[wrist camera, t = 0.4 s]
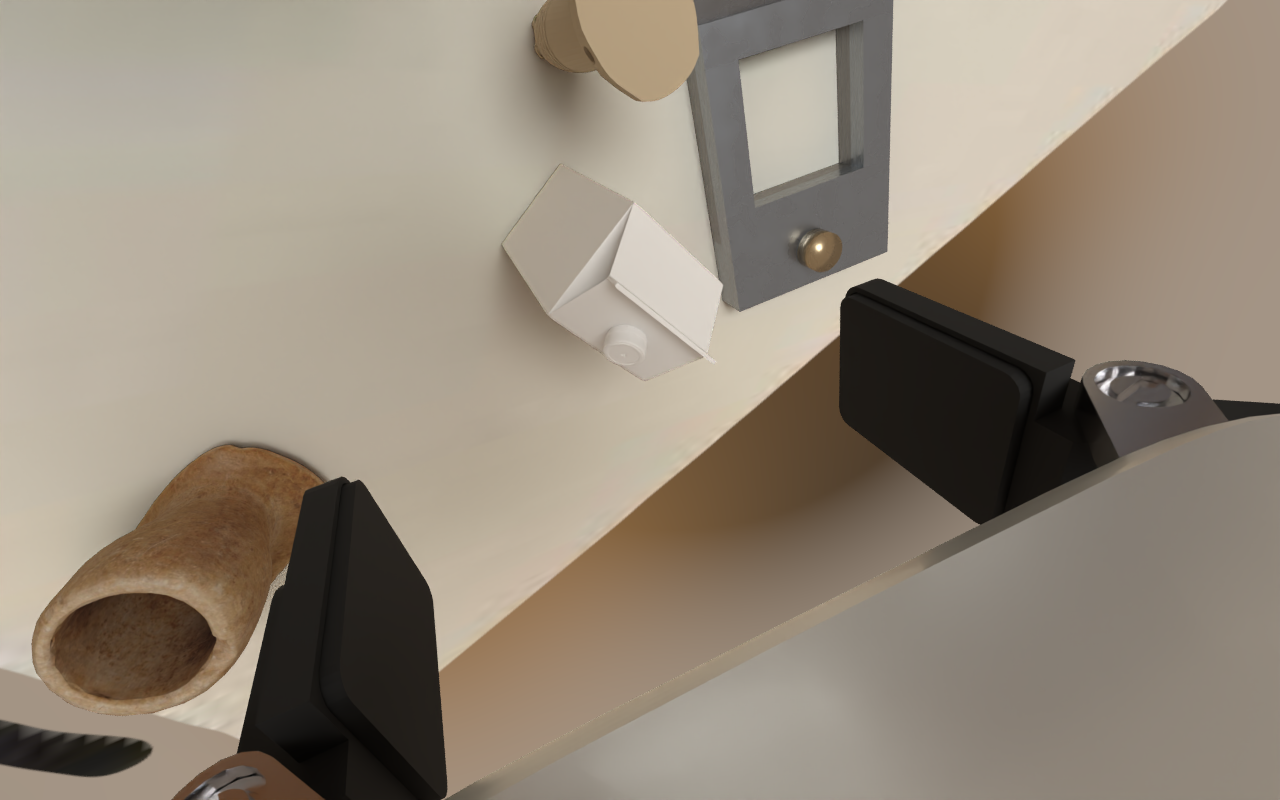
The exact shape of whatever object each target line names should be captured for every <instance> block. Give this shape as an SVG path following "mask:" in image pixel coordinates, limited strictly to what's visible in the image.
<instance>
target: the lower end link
mask: <svg viewBox="0 0 1280 800" xmlns="http://www.w3.org/2000/svg"><path fill="white" fill-rule="evenodd" d="M775 1H779V0H693V2H694V5H695V11H696V16H697V25H698V24H702V23H705V22H708V21H712V20H715V19H718V18H722V17H725V16H729V15H732V14H735V13H739V12H742V11H745V10H749V9H752V8H755V7H759V6H762V5H765V4H769V3H772V2H775ZM836 49H837V88H838V128H839V163H838V164H835V165H832V166H830V167H827V168H824V169H821V170H819V171H816V172H813V173H810V174H808V175H805V176H802V177H800V178H797V179H794V180H791V181H789V182H786V183H783V184H781V185H778V186H775V187H772V188H770V189H767V190H764V191H761V192H759V193H756V194H753V195H754V201H756V200H758V199H761V198H764V197H767V196H769V195H772V194H775V193H777V192H780V191H783V190H785V189H788V188H791V187H794V186H796V185H799V184H802V183H804V182H807V181H810V180H812V179H815V178H818V177H821V176H823V175H826V174H829V173H831V172H834V171H837V170H840V169H842V168H845V167H848V166H850V165H851V114H850V41H849V25H847V26H844V27H840V28H837V29H836ZM687 81H688V88H689V94H690V100H691V106H692V113H693V119H694V125H695V131H696V137H697V144H698V150H699V156H700V162H701V169H702V175H703V181H704V187H705V194H706V200H707V206H708V212H709V218H710V225H711V231H712V237H713V241H714V242H716V243H718V244H720V245H722V244H721V237H720V231H719V224H718V217H717V211H716V204H715V198H714V191H713V185H712V178H711V171H710V165H709V158H708V152H707V145H706V139H705V132H704V125H703V119H702V112H701V106H700V99H699V93H698V86H697V80H696V73H695V66H694V68H693V70H692V72H691V74H690V75H689V76H688V78H687Z"/></svg>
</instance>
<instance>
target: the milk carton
mask: <svg viewBox="0 0 1280 800" xmlns="http://www.w3.org/2000/svg"><path fill="white" fill-rule="evenodd" d="M502 246H503V248H504V249H505V251H506V252H507V254H508V255H509V257H510V258H511V260H512V262H513V263H514V265H515V266H516V268H517V269H518V271H519V272H520V274H521V276H522V277H523V279H524V280H525V282H526V283H527V285H528V286H529V288H530V290H531V291H532V293H533V294H534V296H535V297H536V299H537V300H538V302H539V303H540V305H541V307H542V308H543V310H544V311H545V313H546V314H547V315H548V316H549V317H550V318H551V319H553V320H554V321H555V322H557V323H558V324H559V325H561V326H562V327H564V328H565V329H567V330H568V331H570V332H571V333H573V334H574V335H575V336H577V337H578V338H580V339H581V340H583V341H584V342H586V343H587V344H589V345H590V346H592V347H593V348H595V349H596V350H598V351H599V352H600V353H602V354H603V355H604V356H605V357H606V358H607V359H608V360H609V361H611V362H612V363H614V364H616V365H619V366H621V367H623V368H624V369H626V370H627V371H628V372H630V373H631V374H633V375H635V376H636V377H638V378H639V379H641V380H644V381H646V380H649V379H651V378H654V377H656V376H659V375H661V374H664V373H666V372H669V371H671V370H674V369H676V368H678V367H681V366H683V365H686V364H688V363H691V362H693V361H696V360H698V359H701V358H703V357H704V358H706V359H707V360H708V361H710V362H711V363H712V364H715V363H716V362H717V361H715V360H714V359H713V358H712V357H711V356H710V355H709V354H708V349H709V345H710V341H711V336H712V332H713V328H714V323H715V319H716V314H717V310H718V306H719V301H720V297H721V293H722V288H723V284H722V283H721V282H720V281H719V280H718V279H717V278H716V277H715V276H714V275H713V274H712V273H711V272H710V271H709V270H708V269H707V268H706V267H704V266H703V265H702V264H701V263H700V262H699V261H698V260H697V259H696V258H695V257H694V256H693V255H692V254H691V253H689V252H688V251H687V250H686V249H685V248H684V247H683V246H682V245H681V244H680V243H679V242H678V241H677V240H676V239H675V238H673V237H672V236H671V235H670V234H669V233H668V232H667V231H666V230H665V229H664V228H663V227H662V226H661V225H660V224H658V223H657V222H656V221H655V220H654V219H653V218H652V217H651V216H650V215H649V214H648V213H647V212H646V211H645V210H643V209H642V208H641V207H640V206H639V205H638V204H637V203H635V202H633V201H631V200H629V199H627V198H625V197H624V196H622V195H620V194H618V193H616V192H614V191H612V190H610V189H608V188H606V187H604V186H603V185H601V184H599V183H597V182H595V181H593V180H591V179H589V178H587V177H585V176H583V175H582V174H580V173H578V172H576V171H574V170H572V169H570V168H568V167H566V166H564V165H562V164H560V165H559V166H558V167H557V169H556V170H555V172H554V173H553V174H552V176H551V177H550V178H549V180H548V181H547V183H546V184H545V185H544V187H543V188H542V189H541V191H540V192H539V194H538V195H537V196H536V198H535V199H534V200H533V202H532V203H531V204H530V206H529V207H528V209H527V210H526V211H525V213H524V214H523V215H522V217H521V218H520V220H519V221H518V222H517V224H516V225H515V226H514V228H513V229H512V231H511V232H510V233H509V235H508V236H507V237H506V239H505V240H504V241H503V243H502Z"/></svg>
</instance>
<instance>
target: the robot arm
mask: <svg viewBox="0 0 1280 800" xmlns="http://www.w3.org/2000/svg"><path fill="white" fill-rule="evenodd" d="M1074 363H1075V360H1074V359H1072V358H1070V357H1067V356H1065V355H1062V354H1060V353H1058V352H1055V351H1053V350H1050V349H1048V348H1046V347H1043V346H1041V345H1038V344H1036V343H1033V342H1031V341H1029V340H1026V339H1024V338H1021V337H1019V336H1017V335H1014V334H1012V333H1010V332H1007V331H1005V330H1002V329H1000V328H998V327H995V326H993V325H990V324H988V323H986V322H983V321H981V320H978V319H976V318H974V317H971V316H969V315H966V314H964V313H961V312H959V311H956V310H954V309H952V308H950V307H947V306H945V305H942V304H940V303H937V302H935V301H933V300H930V299H928V298H926V297H923V296H921V295H918V294H916V293H914V292H911V291H909V290H906V289H904V288H902V287H899V286H897V285H894V284H892V283H890V282H887V281H885V280H882V279H874V280H871V281H868V282H865V283H863V284H860V285H857V286H855V287H852V288H850V289H849V290H848V291H847V294H846V297H845V298H844V299H843V300H842V302H841V307H840V387H839V389H840V391H839V393H840V394H839V408H840V413H841V416H842V418H843V420H844V421H845V422H846V423H847V424H848V425H849V426H850V427H852V428H853V429H854V430H855V431H857V432H858V433H859V434H861V435H862V436H863V437H865V438H866V439H867V440H869V441H870V442H871V443H872V444H874V445H875V446H876V447H878V448H879V449H880V450H882V451H883V452H884V453H886V454H887V455H888V456H889V457H891V458H892V459H893V460H895V461H896V462H898V463H899V464H900V465H901V466H903V467H904V468H905V469H906V470H908V471H909V472H910V473H912V474H913V475H914V476H915V477H917V478H918V479H920V480H921V481H922V482H923V483H925V484H926V485H927V486H929V487H930V488H931V489H932V490H934V491H935V492H936V493H938V494H939V495H940V496H942V497H943V498H944V499H946V500H947V501H948V502H949V503H951V504H952V505H953V506H955V507H956V508H957V509H959V510H960V511H961V512H962V513H964V514H965V515H966V516H968V517H969V518H970V519H972V520H973V521H975V522H976V523H978V524H980V525H979V526H978V527H976V528H973V529H971V530H969V531H967V532H965V533H963V534H961V535H959V536H957V537H955V538H953V539H951V540H949V541H947V542H945V543H943V544H941V545H939V546H937V547H935V548H933V549H931V550H929V551H927V552H925V553H923V554H921V555H919V556H917V557H915V558H913V559H911V560H909V561H907V562H905V563H903V564H901V565H899V566H897V567H895V568H893V569H891V570H889V571H887V572H885V573H883V574H881V575H879V576H877V577H875V578H873V579H871V580H869V581H867V582H865V583H863V584H861V585H859V586H857V587H855V588H853V589H851V590H849V591H847V592H845V593H843V594H841V595H839V596H837V597H835V598H833V599H831V600H829V601H827V602H825V603H823V604H821V605H819V606H817V607H815V608H813V609H811V610H809V611H807V612H805V613H803V614H801V615H799V616H797V617H795V618H793V619H791V620H789V621H787V622H785V623H783V624H781V625H779V626H777V627H775V628H773V629H771V630H769V631H767V632H765V633H763V634H761V635H759V636H757V637H755V638H753V639H751V640H749V641H747V642H745V643H743V644H741V645H739V646H737V647H735V648H733V649H731V650H729V651H728V652H726V653H724V654H722V655H720V656H718V657H716V658H714V659H712V660H710V661H708V662H706V663H704V664H702V665H700V666H698V667H696V668H694V669H692V670H690V671H688V672H686V673H684V674H682V675H680V676H678V677H676V678H674V679H672V680H671V681H668V682H666V683H664V684H663V685H661V686H659V687H657V688H655V689H653V690H651V691H649V692H647V693H645V694H643V695H641V696H639V697H637V698H635V699H633V700H631V701H629V702H627V703H625V704H623V705H621V706H619V707H617V708H615V709H613V710H611V711H609V712H607V713H605V714H604V715H602V716H600V717H598V718H596V719H594V720H592V721H590V722H588V723H586V724H584V725H582V726H580V727H578V728H576V729H575V730H573V731H571V732H569V733H567V734H565V735H563V736H561V737H560V738H558V739H556V740H554V741H552V742H550V743H548V744H546V745H544V746H542V747H541V748H539V749H537V750H535V751H533V752H531V753H529V754H527V755H525V756H524V757H522V758H520V759H518V760H516V761H514V762H512V763H510V764H508V765H506V766H505V767H503V768H501V769H499V770H497V771H495V772H493V773H491V774H489V775H487V776H486V777H484V778H482V779H480V780H478V781H476V782H474V783H473V784H471V785H469V786H467V787H466V788H464V789H462V790H461V791H459V792H457V793H456V794H454V795H452V796H450V797H449V798H447V799H445V800H1280V404H1275V403H1259V402H1243V401H1227V400H1212V399H1211V397H1210V396H1209V395H1208V393H1207V392H1206V391H1205V390H1204V388H1203V387H1202V386H1201V385H1200V384H1199V383H1197V382H1196V381H1195V380H1194V379H1193V378H1191V377H1190V376H1187V375H1186V374H1184V373H1182V372H1180V371H1178V370H1174V369H1171V368H1169V367H1166V366H1163V365H1158V364H1153V363H1147V362H1141V361H1127V360H1124V361H1109V362H1105V363H1100V364H1097V365H1094V366H1093V367H1091V368H1089V369H1087V370H1086V372H1085V373H1084V375H1083V376H1082V380H1081V383H1080V382H1077V381H1075V380H1073V379H1071V378H1070V377H1071V373H1072V370H1073V367H1074ZM446 794H447V775H446V761H445V748H444V736H443V723H442V710H441V697H440V685H439V671H438V659H437V646H436V633H435V620H434V607H433V599H432V595H431V591H430V588H429V586H428V584H427V582H426V580H425V579H424V577H423V576H422V574H421V572H420V571H419V569H418V568H417V566H416V565H415V563H414V562H413V560H412V558H411V557H410V555H409V554H408V552H407V551H406V549H405V547H404V546H403V544H402V543H401V541H400V540H399V538H398V536H397V535H396V533H395V532H394V530H393V529H392V527H391V525H390V524H389V522H388V521H387V519H386V518H385V516H384V514H383V513H382V511H381V510H380V508H379V507H378V505H377V503H376V502H375V500H374V499H373V497H372V496H371V494H370V492H369V491H368V489H367V488H366V486H365V485H364V484H363V482H361V481H360V480H357V481H354V482H351V483H350V482H349V480H347V479H346V478H345V477H340V478H337V479H334V480H332V481H329V482H326V483H323V484H321V485H318V486H315V487H313V488H310V489H308V490H306V491H305V493H304V495H303V499H302V504H301V509H300V514H299V518H298V523H297V528H296V533H295V537H294V542H293V547H292V552H291V556H290V561H289V566H288V571H287V575H286V580H285V585H283V586H281V587H279V588H278V589H277V590H276V591H275V594H274V596H273V599H272V602H271V606H270V611H269V615H268V619H267V624H266V628H265V633H264V637H263V641H262V646H261V650H260V654H259V659H258V663H257V668H256V672H255V676H254V681H253V685H252V689H251V694H250V698H249V702H248V707H247V711H246V716H245V720H244V724H243V729H242V733H241V737H240V742H239V746H238V751H237V754H235V755H233V756H230V757H227V758H225V759H222V760H220V761H218V762H217V763H215V764H214V765H212V766H211V767H209V768H207V769H206V770H204V771H203V772H201V773H200V774H198V775H197V776H196V777H195V778H194V779H193V780H191V781H190V782H189V783H188V784H187V785H186V786H185V787H184V788H182V789H181V790H180V791H179V792H178V793H177V794H176V795H175V796H174V798H173V799H172V800H441V799H443V798H445V797H446Z"/></svg>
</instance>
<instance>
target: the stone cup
mask: <svg viewBox="0 0 1280 800" xmlns="http://www.w3.org/2000/svg"><path fill="white" fill-rule="evenodd" d="M323 483H324V482H323V481H322V480H321V479H320V478H319V477H318V476H316V475H315V474H314V473H313V472H311V471H310V470H309V469H307V468H306V467H304V466H302V465H301V464H299V463H297V462H295V461H293V460H291V459H289V458H286V457H284V456H281V455H279V454H276V453H274V452H271V451H268V450H264V449H260V448H238V447H235V446H233V445H223V446H219V447H216V448H213V449H211V450H209V451H207V452H206V453H204V454H202V455H201V456H200V457H198V458H197V459H196V460H194V461H193V462H191V463H190V464H189V465H188V466H187V467H186V468H184V469H183V470H182V471H181V472H180V473H179V474H178V475H177V476H176V477H175V478H174V479H173V480H172V481H171V482H170V483H169V485H168V486H167V487H166V488H165V489H164V490H163V492H162V493H161V494H160V495H159V497H158V498H157V499H156V500H155V501H154V503H153V504H152V506H151V507H150V509H149V510H148V512H147V513H146V515H145V516H144V517H143V519H142V520H141V522H140V523H139V525H138V526H137V528H136V529H135V530H134V531H132V532H130V533H128V534H126V535H124V536H122V537H120V538H119V539H117V540H116V541H114V542H112V543H111V544H109V545H108V546H106V547H105V548H103V549H102V550H100V551H99V552H98V553H97V554H95V555H94V556H93V557H92V558H90V559H89V560H88V561H87V562H86V563H85V564H84V565H83V566H82V567H81V568H80V569H79V570H78V571H77V572H76V573H75V574H74V576H73V577H72V578H71V579H70V580H69V581H68V582H67V584H66V585H65V586H64V587H63V588H62V589H61V590H60V591H59V593H58V594H57V595H56V596H55V597H54V598H53V599H52V600H51V602H50V603H49V604H48V606H47V607H46V608H45V610H44V611H43V612H42V614H41V615H40V617H39V619H38V620H37V623H36V626H35V630H34V634H33V639H32V658H33V664H34V667H35V670H36V673H37V674H38V676H39V677H40V678H41V679H42V681H43V682H44V683H45V684H46V686H47V687H48V688H49V690H51V691H52V692H54V693H55V694H57V695H58V696H60V697H61V698H62V699H63V700H64V701H66V702H67V703H69V704H71V705H73V706H76V707H78V708H82V709H85V710H88V711H92V712H95V713H98V714H107V715H115V716H127V715H136V714H149V713H155V712H158V711H161V710H164V709H167V708H170V707H174V706H177V705H180V704H183V703H185V702H187V701H189V700H191V699H193V698H195V697H197V696H198V695H200V694H202V693H204V692H205V691H207V690H208V689H209V688H210V687H212V686H213V685H214V684H215V683H216V682H217V681H218V680H219V679H221V678H222V677H223V676H224V675H225V674H226V673H227V672H228V671H229V669H230V668H231V667H232V666H233V665H234V664H235V662H236V661H237V659H238V658H239V657H240V655H241V654H242V652H243V651H244V649H245V647H246V646H247V644H248V642H249V640H250V638H251V636H252V634H253V632H254V630H255V627H256V625H257V623H258V621H259V618H260V616H261V613H262V610H263V607H264V605H265V602H266V599H267V596H268V592H269V588H270V584H271V583H272V582H273V581H274V580H275V578H276V576H277V575H278V574H279V573H280V572H281V571H282V570H283V569H284V568H285V566H286V565H287V564H288V563H289V561H290V556H291V552H292V547H293V542H294V537H295V533H296V528H297V523H298V518H299V514H300V509H301V504H302V499H303V495H304V493H305V491H306V490H308V489H310V488H313V487H315V486H318V485H321V484H323Z"/></svg>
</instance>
